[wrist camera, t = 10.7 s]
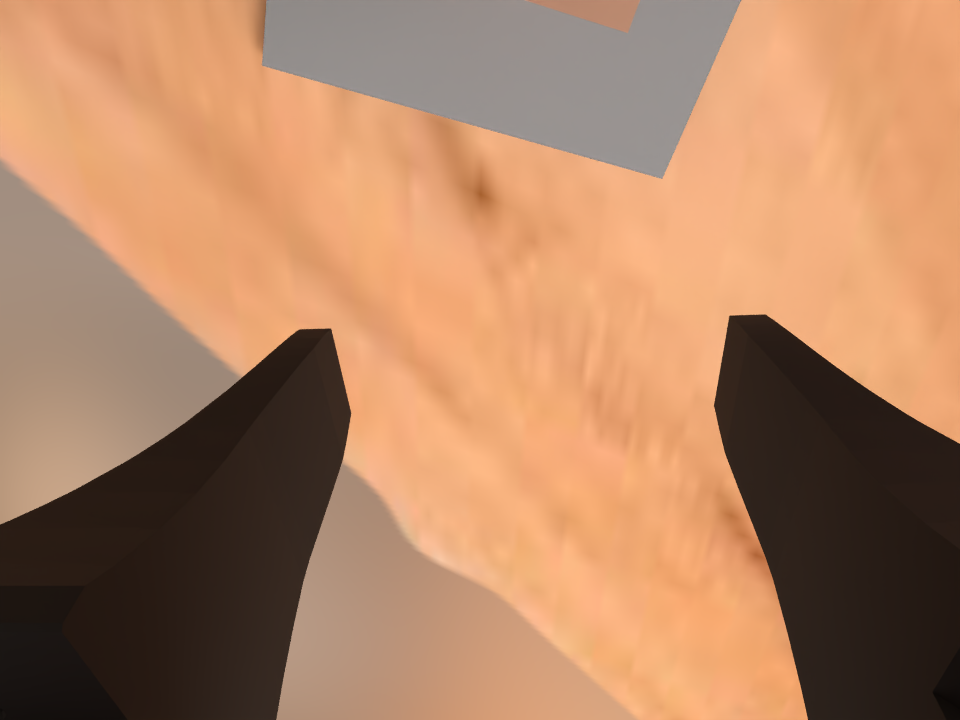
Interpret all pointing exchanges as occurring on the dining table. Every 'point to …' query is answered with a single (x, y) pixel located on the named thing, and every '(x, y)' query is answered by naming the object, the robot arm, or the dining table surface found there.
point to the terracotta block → (597, 11)
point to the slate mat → (515, 66)
